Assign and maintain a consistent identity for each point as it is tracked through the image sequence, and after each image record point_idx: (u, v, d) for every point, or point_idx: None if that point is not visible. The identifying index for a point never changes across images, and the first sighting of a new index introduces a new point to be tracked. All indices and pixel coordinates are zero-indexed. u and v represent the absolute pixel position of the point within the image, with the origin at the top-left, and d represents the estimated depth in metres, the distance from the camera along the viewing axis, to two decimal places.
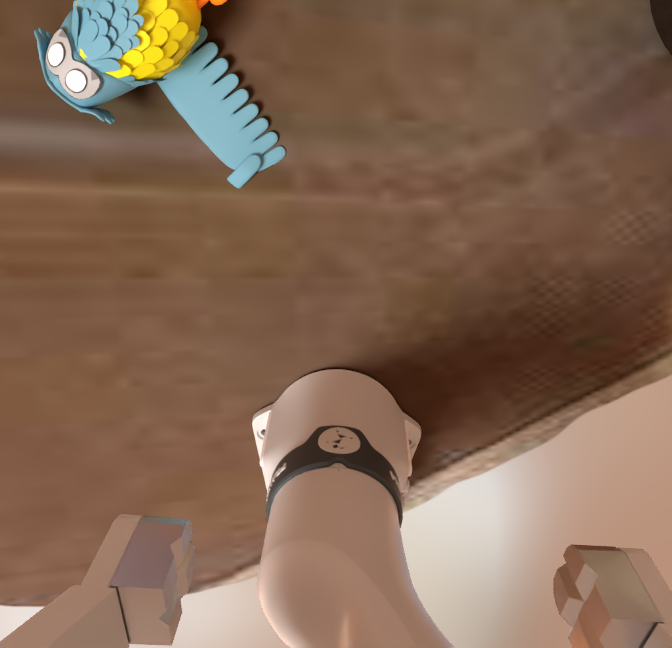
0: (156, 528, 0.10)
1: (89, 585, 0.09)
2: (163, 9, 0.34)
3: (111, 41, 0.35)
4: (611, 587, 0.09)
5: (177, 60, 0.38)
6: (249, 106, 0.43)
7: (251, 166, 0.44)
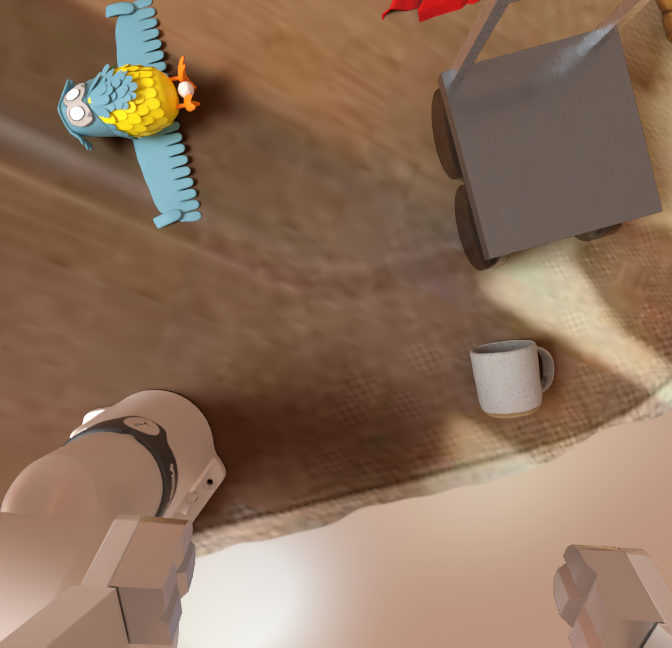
0: (156, 528, 0.10)
1: (89, 585, 0.09)
2: (151, 97, 0.54)
3: (110, 100, 0.53)
4: (611, 587, 0.09)
5: (149, 130, 0.57)
6: (188, 178, 0.61)
7: (172, 216, 0.61)
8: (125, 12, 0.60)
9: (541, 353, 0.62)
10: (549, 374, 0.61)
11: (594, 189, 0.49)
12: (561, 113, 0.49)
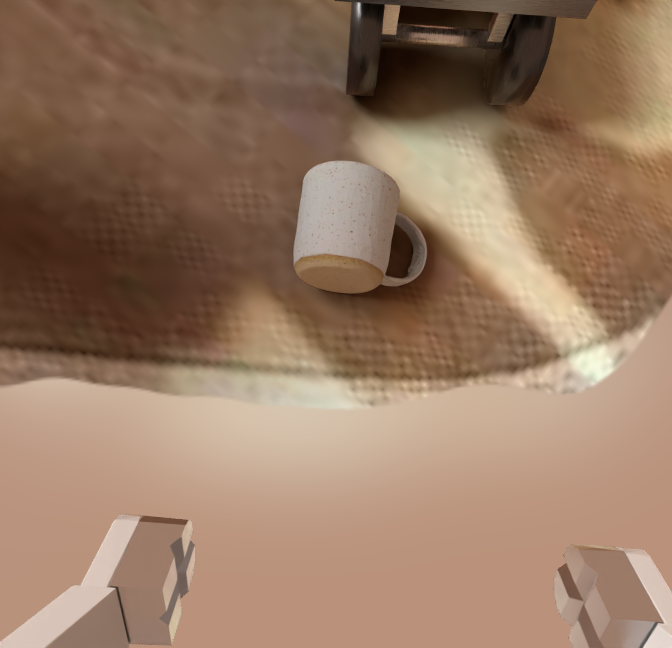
0: (156, 528, 0.10)
1: (89, 585, 0.09)
2: None
3: None
4: (611, 587, 0.09)
5: None
6: None
7: None
8: None
9: (413, 239, 0.41)
10: (416, 268, 0.40)
11: None
12: None
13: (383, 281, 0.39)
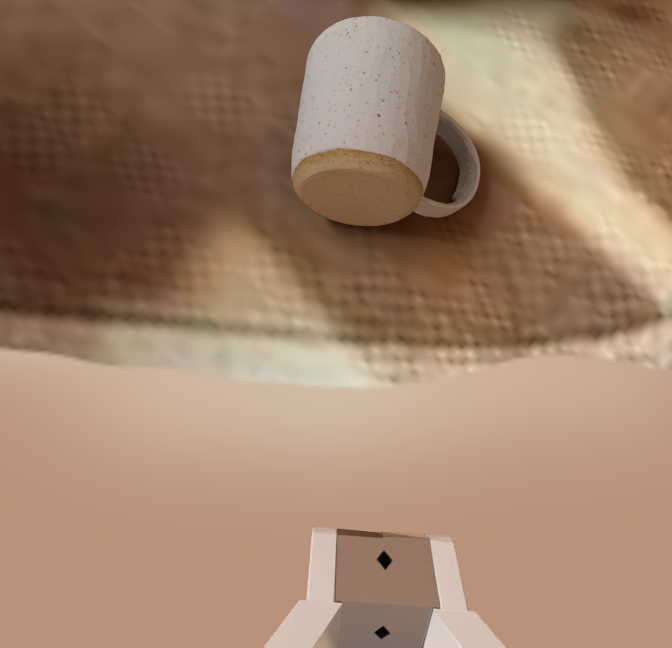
0: (356, 541, 0.10)
1: (315, 600, 0.09)
2: None
3: None
4: (401, 573, 0.09)
5: None
6: None
7: None
8: None
9: (460, 154, 0.29)
10: (465, 192, 0.28)
11: None
12: None
13: (420, 207, 0.27)
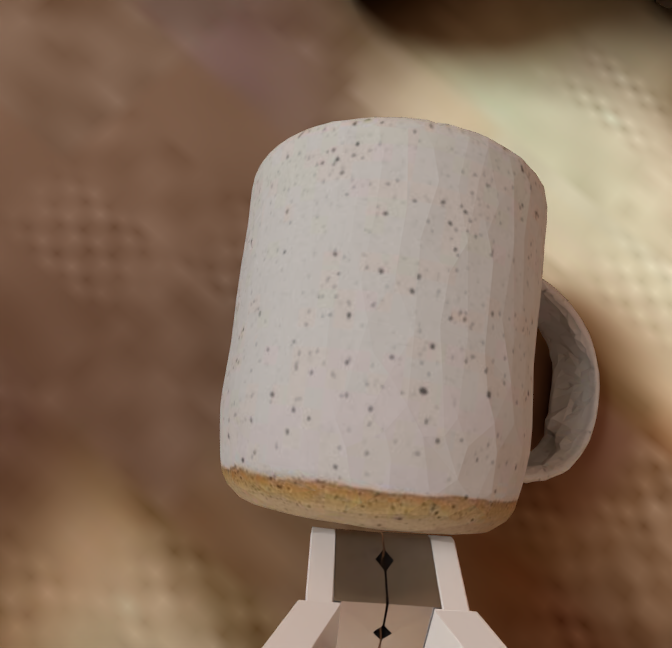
0: (355, 541, 0.10)
1: (314, 600, 0.09)
2: None
3: None
4: (402, 573, 0.09)
5: None
6: None
7: None
8: None
9: (555, 336, 0.16)
10: (574, 423, 0.14)
11: None
12: None
13: None
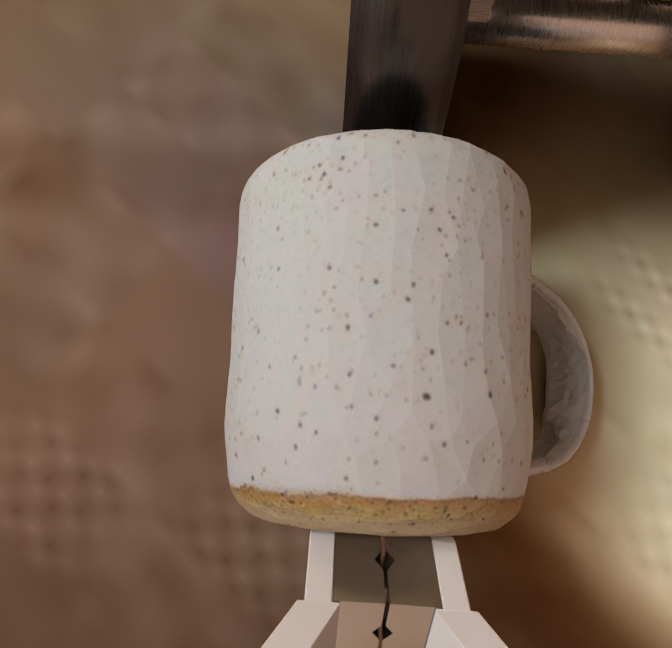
0: (354, 541, 0.10)
1: (313, 600, 0.09)
2: None
3: None
4: (403, 573, 0.09)
5: None
6: None
7: None
8: None
9: (546, 329, 0.16)
10: (571, 413, 0.15)
11: None
12: None
13: None
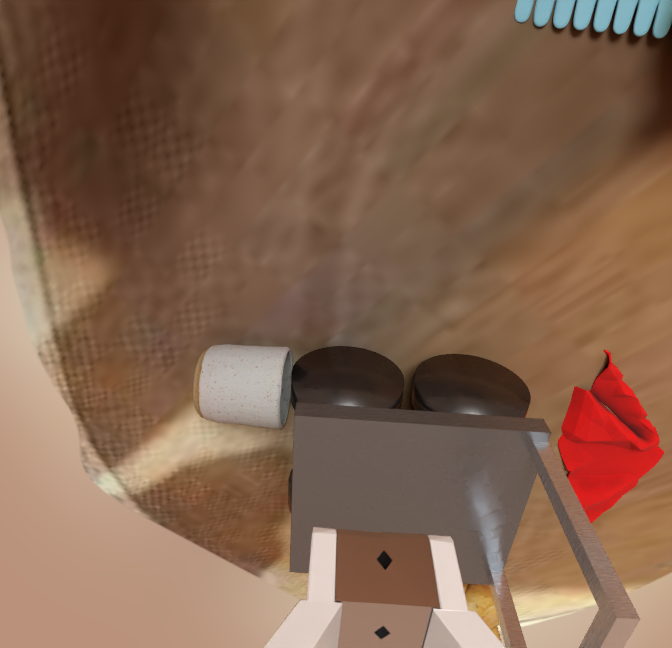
0: (356, 541, 0.10)
1: (315, 600, 0.09)
2: None
3: None
4: (401, 573, 0.09)
5: None
6: (587, 21, 0.34)
7: None
8: None
9: None
10: None
11: (336, 528, 0.42)
12: (434, 524, 0.41)
13: None
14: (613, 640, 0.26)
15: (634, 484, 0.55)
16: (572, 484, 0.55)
